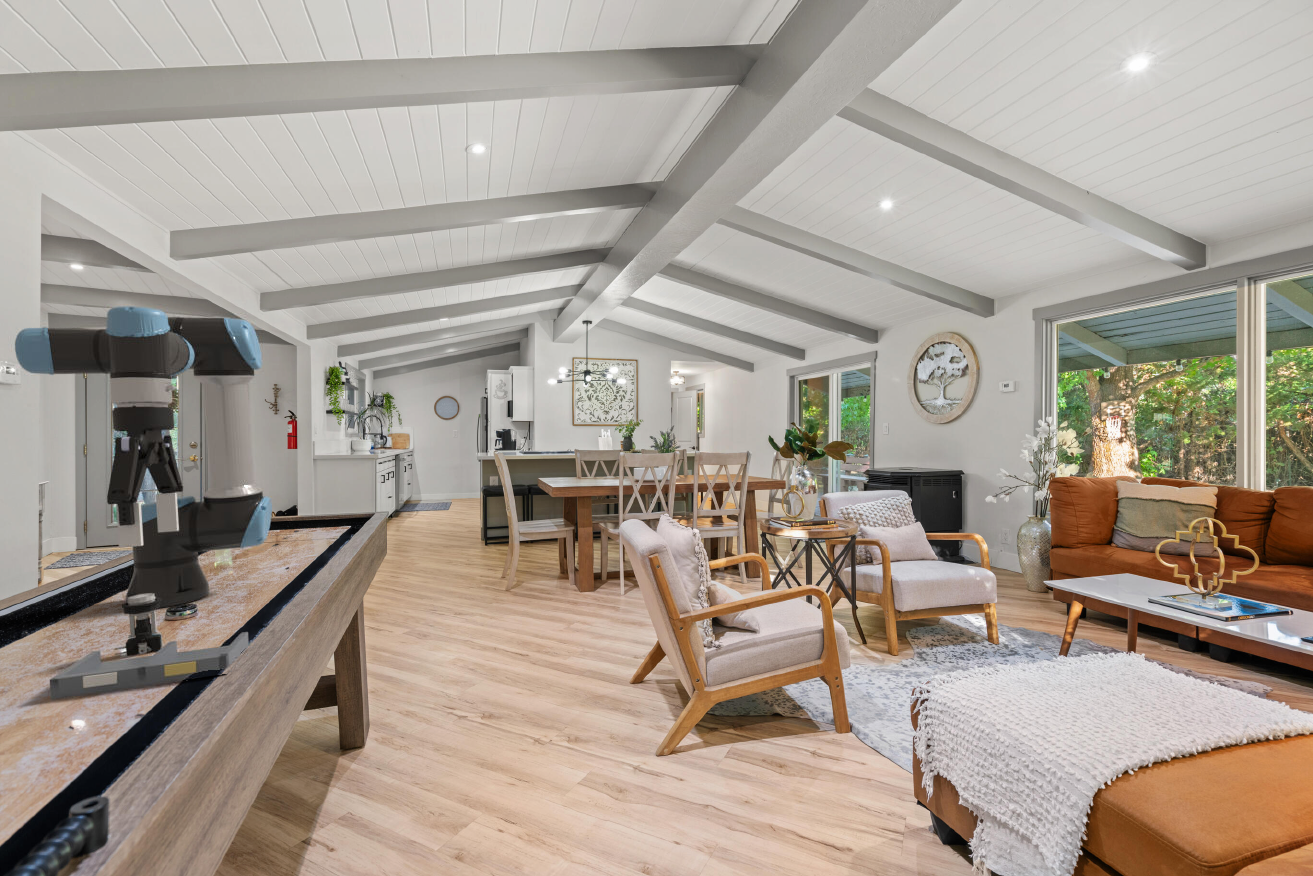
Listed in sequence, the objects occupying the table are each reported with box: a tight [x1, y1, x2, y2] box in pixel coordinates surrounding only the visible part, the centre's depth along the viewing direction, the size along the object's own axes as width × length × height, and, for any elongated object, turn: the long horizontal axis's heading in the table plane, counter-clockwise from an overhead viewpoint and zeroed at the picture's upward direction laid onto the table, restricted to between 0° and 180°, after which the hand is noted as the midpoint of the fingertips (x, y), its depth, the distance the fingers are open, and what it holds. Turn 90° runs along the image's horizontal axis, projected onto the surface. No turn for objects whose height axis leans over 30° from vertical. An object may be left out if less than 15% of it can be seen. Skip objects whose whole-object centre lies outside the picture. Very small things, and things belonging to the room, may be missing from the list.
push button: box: [113, 593, 163, 657], centre depth 109 cm, size 7×5×10 cm
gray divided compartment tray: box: [49, 631, 250, 701], centre depth 100 cm, size 12×22×3 cm, turn 110°
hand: (151, 538), depth 99 cm, fingers open, 13 cm apart
